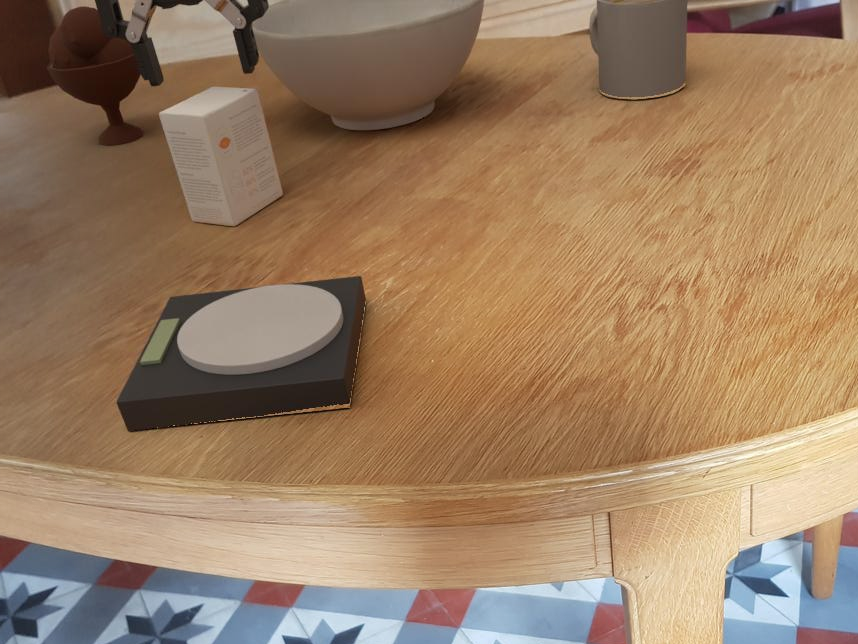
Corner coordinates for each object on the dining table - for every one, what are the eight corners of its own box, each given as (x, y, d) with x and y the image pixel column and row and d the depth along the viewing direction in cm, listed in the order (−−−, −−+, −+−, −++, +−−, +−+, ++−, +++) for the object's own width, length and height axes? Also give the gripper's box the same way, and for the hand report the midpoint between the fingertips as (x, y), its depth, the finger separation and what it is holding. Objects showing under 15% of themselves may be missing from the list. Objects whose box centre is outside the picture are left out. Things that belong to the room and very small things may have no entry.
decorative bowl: (264, 104, 122) (240, 2, 115) (465, 67, 126) (453, -34, 118) (282, 170, 101) (253, 50, 94) (522, 124, 105) (512, 4, 97)
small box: (242, 191, 97) (213, 85, 91) (285, 196, 95) (259, 86, 88) (190, 222, 92) (155, 111, 85) (234, 228, 89) (202, 114, 83)
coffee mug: (702, 87, 108) (705, -10, 102) (626, 106, 106) (625, 8, 100) (641, 64, 118) (641, -25, 112) (570, 81, 116) (566, -9, 110)
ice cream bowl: (183, 123, 119) (144, -8, 110) (124, 155, 111) (77, 17, 102) (119, 121, 123) (77, -5, 114) (57, 151, 115) (7, 18, 106)
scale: (127, 432, 63) (111, 391, 61) (179, 323, 75) (166, 287, 73) (350, 408, 62) (341, 367, 60) (366, 303, 74) (359, 265, 72)
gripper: (239, -150, 79) (286, 57, 88) (72, -126, 79) (137, 76, 89) (222, -141, 73) (274, 79, 82) (42, -116, 73) (115, 100, 83)
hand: (203, 77), depth 86 cm, fingers open, 8 cm apart
